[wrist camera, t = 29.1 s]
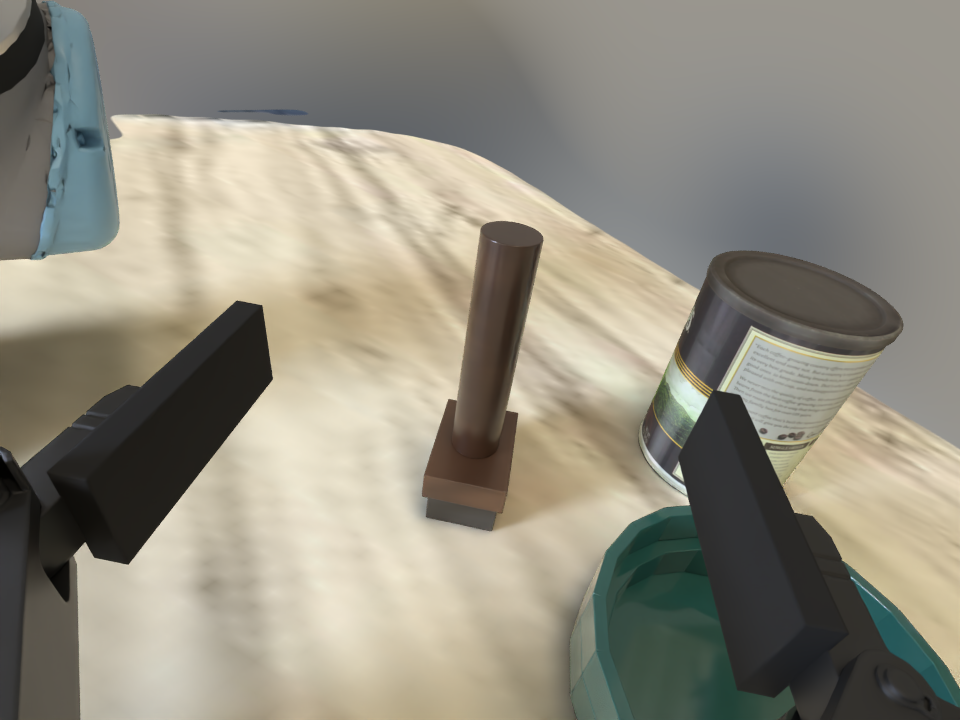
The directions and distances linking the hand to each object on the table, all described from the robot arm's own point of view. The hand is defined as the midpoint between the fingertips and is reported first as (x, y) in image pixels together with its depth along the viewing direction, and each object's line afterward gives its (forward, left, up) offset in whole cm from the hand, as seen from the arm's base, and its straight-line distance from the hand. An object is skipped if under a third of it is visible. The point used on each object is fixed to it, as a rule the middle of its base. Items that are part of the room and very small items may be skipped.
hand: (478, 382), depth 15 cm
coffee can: (+17, +17, -16) cm, 29 cm away
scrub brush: (0, +10, -16) cm, 19 cm away
